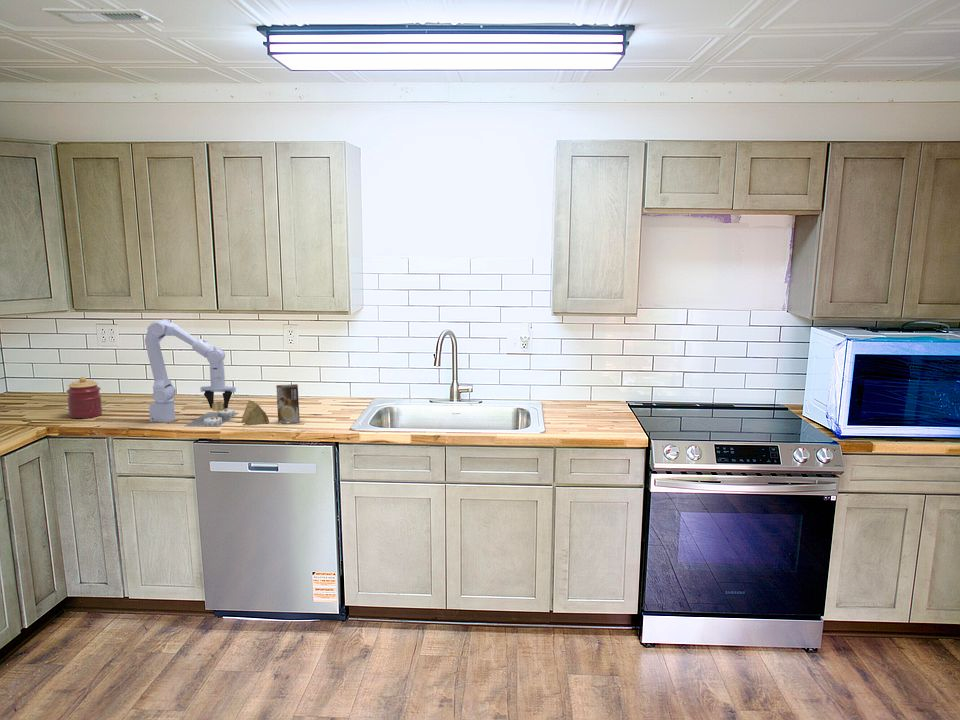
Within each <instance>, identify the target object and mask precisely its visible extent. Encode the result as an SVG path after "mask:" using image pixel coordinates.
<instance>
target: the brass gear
mask: <svg viewBox="0 0 960 720" xmlns="http://www.w3.org/2000/svg"><path fill="white" fill-rule="evenodd" d="M211 410H212V412H217V411H223V410H226V409H225V408H224V400H223V401H214V403H212V408H211Z"/></svg>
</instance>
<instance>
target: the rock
mask: <svg viewBox="0 0 960 720" xmlns="http://www.w3.org/2000/svg"><path fill="white" fill-rule="evenodd" d="M243 412H244V413H243V415H242V417H241V419H242V420H241V423H242V426H253V425H262V423H263V424H269V423H270V420H269V416H268V415H267V413H266V412H265V411H264V409H262V408H261V406H260V405H259V404H257V402H255V401H253V400H248V402H247V404H246V406H245V408H244V411H243ZM252 424H253V425H252Z"/></svg>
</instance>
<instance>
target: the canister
mask: <svg viewBox="0 0 960 720" xmlns="http://www.w3.org/2000/svg"><path fill="white" fill-rule="evenodd" d="M78 379H79V380H76V381H72V382H71V383H70V384H68V385H67V386H68V389H67V390H66V393H67V398H66V399H67V406H68V412H67V413H68V417H69V418H70V417H71V418H70V419H73V418H85V419H91V418H90V417H92V418H96V416H97V417H99V415H100V416H101V415H102V414H103V407H102V395H101V393H100V391H101V390H102V389H101V387H100V386H98V385H99V383H98V382H96V381H94V380H92V379H87V378H86V377H85V376H80V377H79V378H78Z"/></svg>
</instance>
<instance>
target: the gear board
mask: <svg viewBox="0 0 960 720" xmlns="http://www.w3.org/2000/svg"><path fill="white" fill-rule="evenodd" d="M237 415H239V412H236V411H235V409H232V408H229V409H228V408H227V409H226V410H223V411H211V412H207V413H206V412H205V414H203V415H202V416H200V417H198V418H196V419H194V420H193V421H191V422H189V423H187V424H186V425H185V427H191V428H193V427H196V428H197V427H201V428H203V427H204V428H218V427H220V426H222V425H223V424H225V423H226V422H228V421H229V420H231V419H232V418H234V417H235V416H237Z"/></svg>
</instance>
